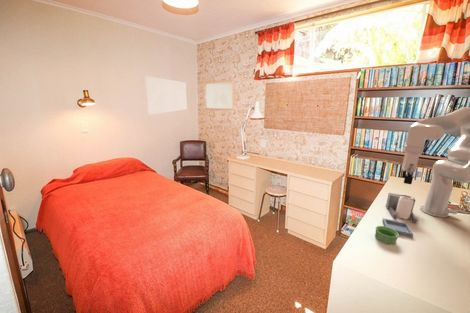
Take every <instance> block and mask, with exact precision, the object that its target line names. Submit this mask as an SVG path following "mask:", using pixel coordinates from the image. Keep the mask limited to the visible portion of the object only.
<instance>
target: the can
mask: <svg viewBox="0 0 470 313" xmlns="http://www.w3.org/2000/svg"><path fill="white" fill-rule="evenodd" d="M400 195H401V197H400V198H399V201H398V205H397V209H396V211H395V213H396V215H397V216H396V218H399V219H401V220H409V219H411V218H410V214H411V210H412V207H413V203H414V201H413V198H412V197H413V196H411V195H407V194H400ZM410 196H411V197H410ZM414 204H415V203H414ZM413 208H414V207H413Z"/></svg>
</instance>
